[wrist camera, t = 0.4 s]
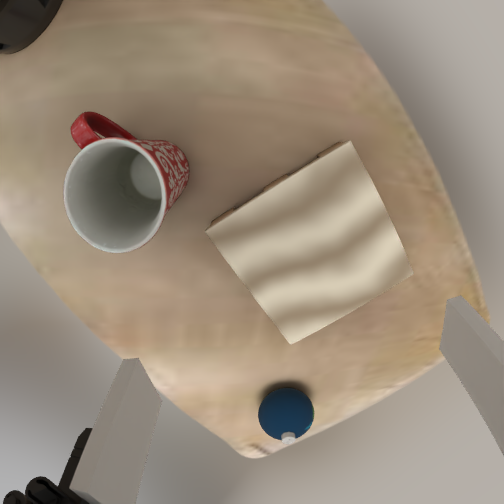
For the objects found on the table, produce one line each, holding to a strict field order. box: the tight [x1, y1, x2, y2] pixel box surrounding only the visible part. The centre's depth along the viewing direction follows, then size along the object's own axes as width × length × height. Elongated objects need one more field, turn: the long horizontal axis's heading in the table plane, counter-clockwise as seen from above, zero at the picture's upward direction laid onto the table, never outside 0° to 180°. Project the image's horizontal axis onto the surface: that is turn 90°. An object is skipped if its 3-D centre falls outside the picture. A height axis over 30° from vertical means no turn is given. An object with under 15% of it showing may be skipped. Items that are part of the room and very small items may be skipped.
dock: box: [205, 141, 414, 345], centre depth 36 cm, size 18×18×3 cm
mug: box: [63, 112, 189, 253], centre depth 27 cm, size 13×9×14 cm
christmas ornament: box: [258, 388, 314, 444], centre depth 42 cm, size 8×8×10 cm
